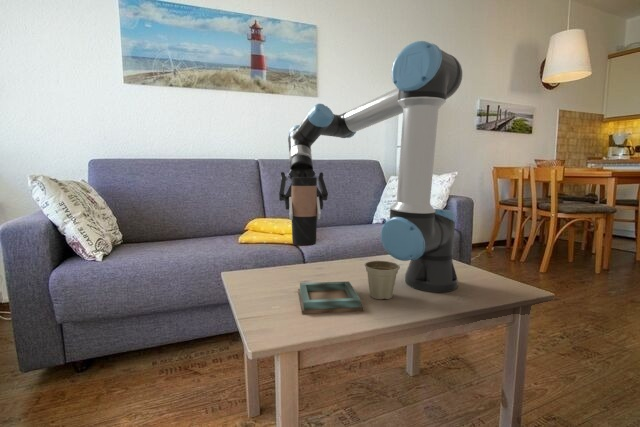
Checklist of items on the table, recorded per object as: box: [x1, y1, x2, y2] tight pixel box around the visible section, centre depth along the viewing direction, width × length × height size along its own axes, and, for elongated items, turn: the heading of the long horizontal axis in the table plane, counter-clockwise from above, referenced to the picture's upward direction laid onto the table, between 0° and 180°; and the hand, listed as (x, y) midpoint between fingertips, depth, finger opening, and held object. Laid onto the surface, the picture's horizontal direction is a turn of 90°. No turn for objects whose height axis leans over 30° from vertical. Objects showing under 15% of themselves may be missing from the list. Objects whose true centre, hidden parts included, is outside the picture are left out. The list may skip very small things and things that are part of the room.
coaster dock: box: [297, 281, 364, 315], centre depth 89 cm, size 15×15×3 cm
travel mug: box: [291, 177, 318, 247], centre depth 101 cm, size 8×8×20 cm
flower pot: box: [364, 260, 401, 300], centre depth 92 cm, size 9×9×9 cm
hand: (305, 216), depth 98 cm, fingers closed on travel mug, 7 cm apart
